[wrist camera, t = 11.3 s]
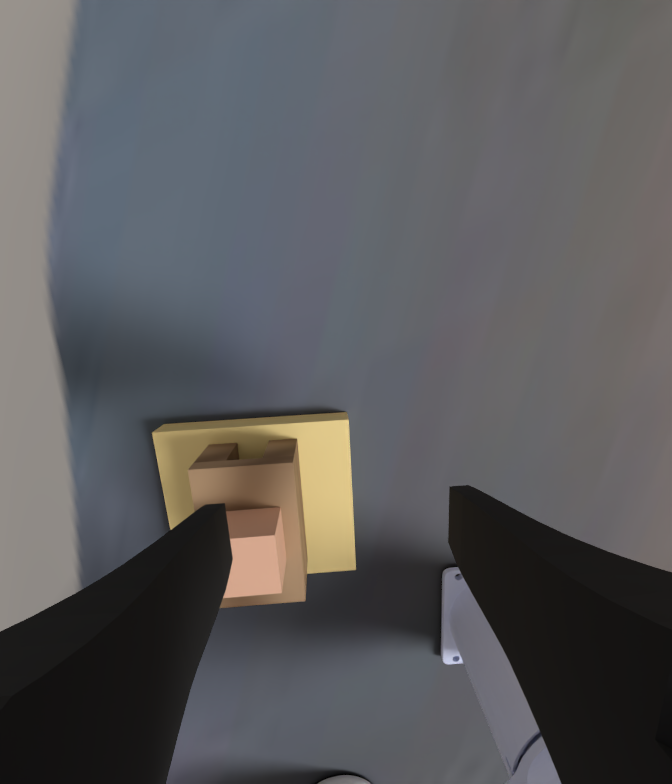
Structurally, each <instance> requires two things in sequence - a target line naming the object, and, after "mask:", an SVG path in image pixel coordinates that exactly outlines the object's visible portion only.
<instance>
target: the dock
mask: <svg viewBox="0 0 672 784" xmlns="http://www.w3.org/2000/svg"><path fill="white" fill-rule="evenodd" d="M152 436H153V441H154V446H155V452H156V457H157V462H158V467H159V473H160V478H161V483H162V488H163V494H164V499H165V504H166V510H167V515H168V520H169V525H170V530H172V529H173V528H174V527H176V526H177V525H178V524H179V523H181V522H182V521H183V520H185V519H186V518H187V517H189V516H190V515H191V514H192V513H194V512H195V511H194V505H193V499H192V493H191V487H190V481H189V475H188V469H189V468H190V466H191V465H192V464H193V463H194V462H195V460H196V459H197V458H198V457H199V456H200V455H201V453H202V452H203V451H204V450H205V449H206V447H207V446H208V445H209V444H224V443H237V444H238V452H239V460H240V459H255V458H262V457H263V455H264V452H265V450H266V447H267V444H268V442H269V440H283V439H297V441H298V453H299V464H300V476H301V488H302V499H303V511H304V522H305V534H306V545H307V557H308V563H307V574H311V573H323V572H336V571H349V570H356V559H355V538H354V518H353V498H352V478H351V457H350V437H349V419H348V415H347V412H339V413H324V414H309V415H294V416H279V417H263V418H248V419H233V420H218V421H203V422H188V423H172V424H163V425H162V426H160V427H159V428H158V429H156V430H155V431H154V432H152Z"/></svg>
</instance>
